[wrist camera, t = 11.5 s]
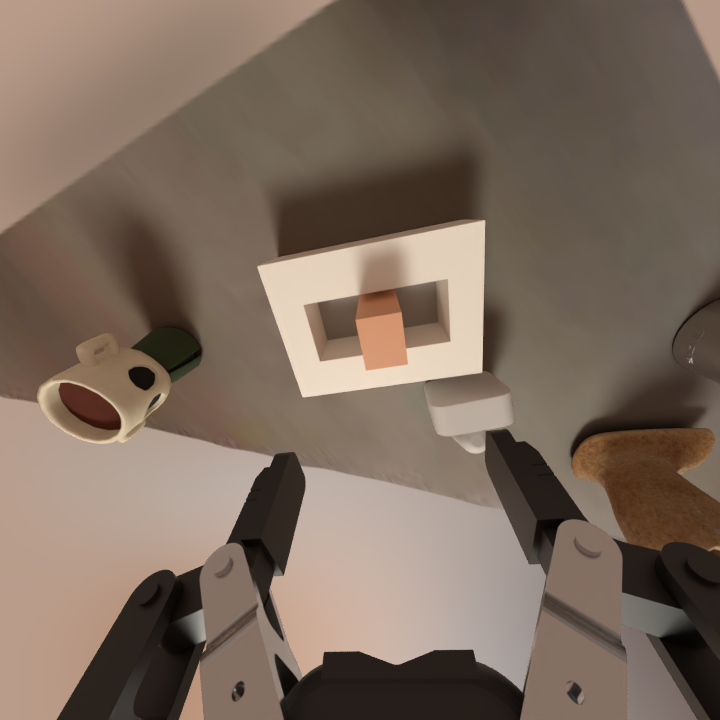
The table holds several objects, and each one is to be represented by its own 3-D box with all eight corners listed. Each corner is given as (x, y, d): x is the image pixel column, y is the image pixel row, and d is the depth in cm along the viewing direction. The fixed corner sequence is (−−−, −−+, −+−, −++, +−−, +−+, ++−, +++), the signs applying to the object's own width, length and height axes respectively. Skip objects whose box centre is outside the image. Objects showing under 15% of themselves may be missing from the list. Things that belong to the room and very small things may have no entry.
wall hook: (435, 443, 40) (450, 493, 30) (420, 378, 37) (432, 408, 28) (492, 433, 38) (528, 482, 29) (481, 365, 36) (515, 392, 26)
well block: (462, 219, 27) (485, 220, 21) (464, 347, 33) (482, 372, 28) (278, 257, 29) (257, 266, 24) (313, 370, 35) (302, 397, 30)
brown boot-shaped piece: (556, 481, 43) (638, 598, 30) (577, 423, 38) (689, 535, 24) (659, 478, 42) (792, 599, 29) (696, 418, 36) (882, 533, 23)
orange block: (392, 282, 29) (401, 312, 20) (397, 322, 31) (408, 364, 22) (360, 288, 29) (355, 320, 21) (367, 327, 32) (365, 370, 23)
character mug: (214, 386, 37) (143, 462, 25) (161, 381, 37) (67, 456, 25) (198, 308, 32) (100, 360, 20) (137, 302, 32) (5, 351, 20)
